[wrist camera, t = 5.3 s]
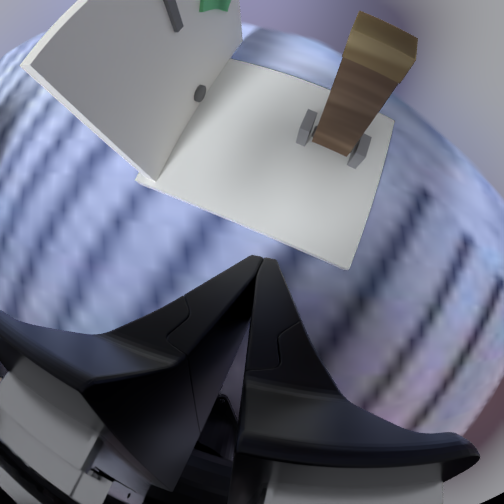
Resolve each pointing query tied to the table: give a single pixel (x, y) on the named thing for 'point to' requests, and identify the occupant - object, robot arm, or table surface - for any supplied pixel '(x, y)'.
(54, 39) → the gauge base
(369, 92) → the lever
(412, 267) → the table surface
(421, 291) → the table surface
